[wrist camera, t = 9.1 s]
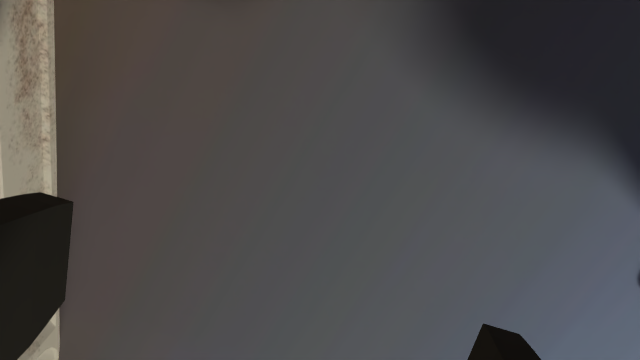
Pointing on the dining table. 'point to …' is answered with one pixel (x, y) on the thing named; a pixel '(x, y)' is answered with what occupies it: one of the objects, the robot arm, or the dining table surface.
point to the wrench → (29, 120)
